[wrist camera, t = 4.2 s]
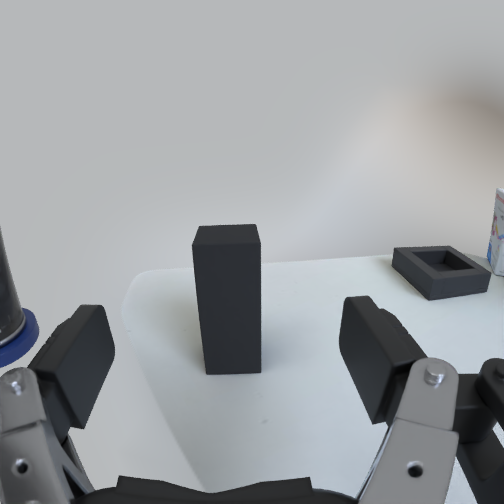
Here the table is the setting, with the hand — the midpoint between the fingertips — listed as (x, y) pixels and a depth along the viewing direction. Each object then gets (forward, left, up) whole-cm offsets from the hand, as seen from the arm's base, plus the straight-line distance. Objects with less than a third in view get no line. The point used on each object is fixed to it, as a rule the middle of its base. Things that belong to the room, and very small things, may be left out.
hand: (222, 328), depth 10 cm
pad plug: (0, +11, -10) cm, 15 cm away
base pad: (+26, +22, -10) cm, 35 cm away
